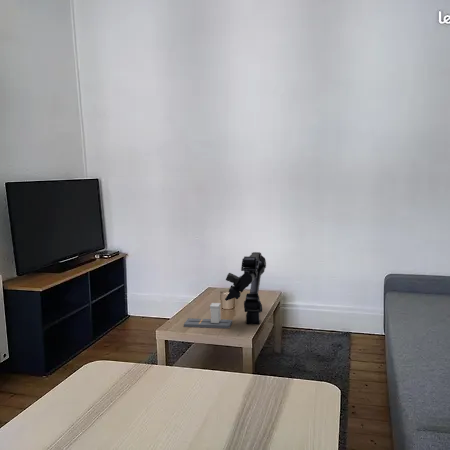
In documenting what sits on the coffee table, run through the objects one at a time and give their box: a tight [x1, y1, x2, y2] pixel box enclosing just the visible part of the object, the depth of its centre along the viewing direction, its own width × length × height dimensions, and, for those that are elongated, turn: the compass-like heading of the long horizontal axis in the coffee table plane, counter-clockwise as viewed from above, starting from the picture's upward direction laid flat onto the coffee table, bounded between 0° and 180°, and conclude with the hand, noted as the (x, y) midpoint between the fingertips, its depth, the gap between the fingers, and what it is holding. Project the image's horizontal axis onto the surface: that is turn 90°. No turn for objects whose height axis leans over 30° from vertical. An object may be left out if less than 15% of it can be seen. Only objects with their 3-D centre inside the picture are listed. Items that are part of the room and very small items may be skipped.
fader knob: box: [209, 302, 222, 323], centre depth 239 cm, size 5×6×9 cm
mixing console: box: [183, 317, 233, 329], centre depth 241 cm, size 24×9×2 cm, turn 80°
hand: (225, 299), depth 237 cm, fingers closed
